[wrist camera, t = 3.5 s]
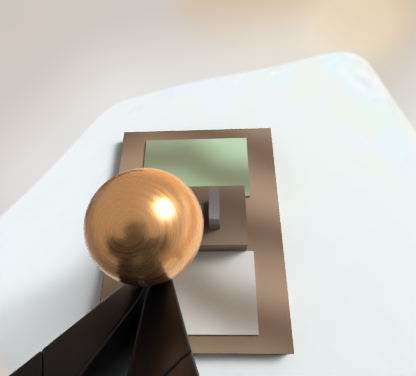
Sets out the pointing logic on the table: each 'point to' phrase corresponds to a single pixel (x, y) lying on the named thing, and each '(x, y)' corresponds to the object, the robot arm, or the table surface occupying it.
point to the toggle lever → (144, 226)
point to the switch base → (256, 240)
